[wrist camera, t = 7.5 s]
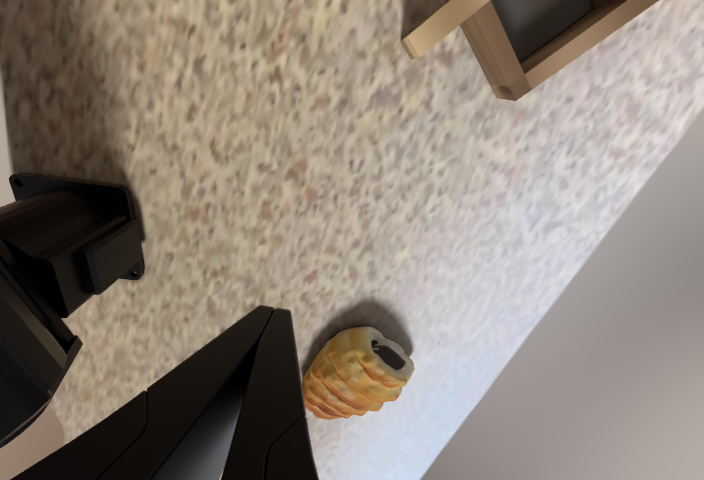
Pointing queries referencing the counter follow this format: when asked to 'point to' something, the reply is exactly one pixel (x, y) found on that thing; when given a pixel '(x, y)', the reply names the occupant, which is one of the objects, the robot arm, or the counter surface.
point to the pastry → (355, 374)
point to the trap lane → (524, 35)
